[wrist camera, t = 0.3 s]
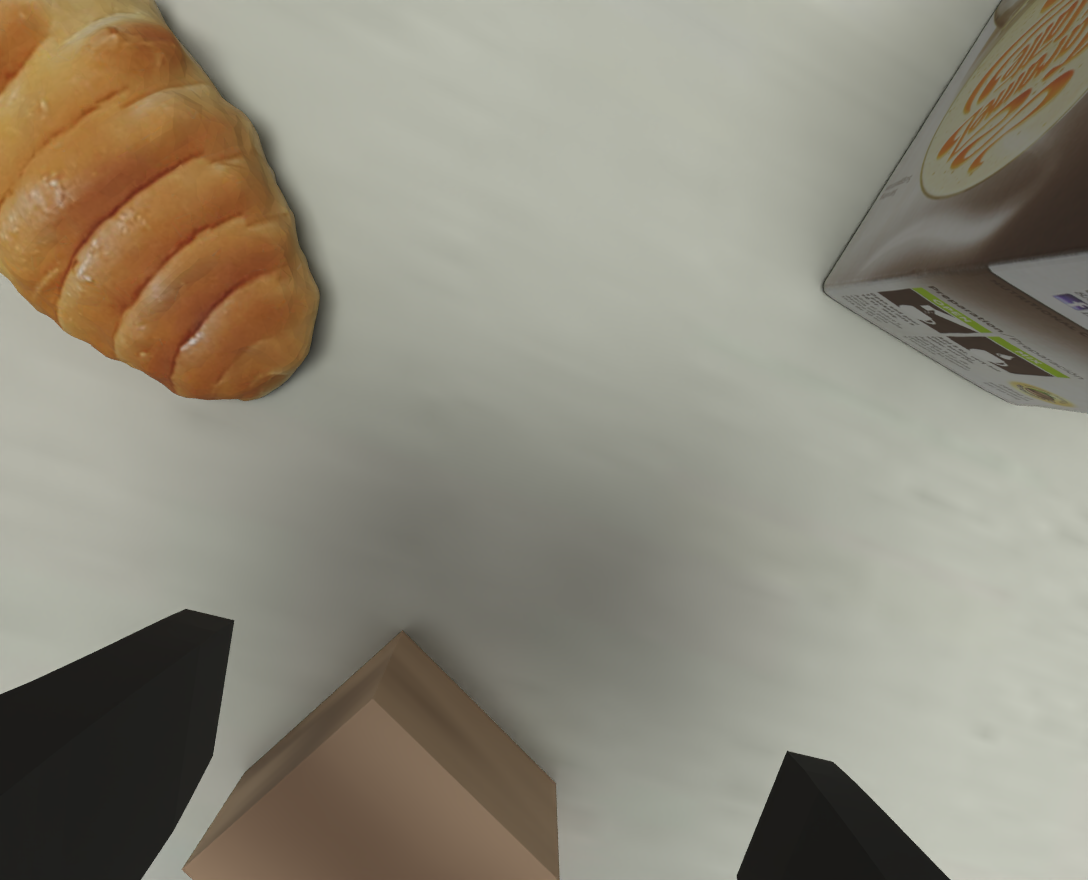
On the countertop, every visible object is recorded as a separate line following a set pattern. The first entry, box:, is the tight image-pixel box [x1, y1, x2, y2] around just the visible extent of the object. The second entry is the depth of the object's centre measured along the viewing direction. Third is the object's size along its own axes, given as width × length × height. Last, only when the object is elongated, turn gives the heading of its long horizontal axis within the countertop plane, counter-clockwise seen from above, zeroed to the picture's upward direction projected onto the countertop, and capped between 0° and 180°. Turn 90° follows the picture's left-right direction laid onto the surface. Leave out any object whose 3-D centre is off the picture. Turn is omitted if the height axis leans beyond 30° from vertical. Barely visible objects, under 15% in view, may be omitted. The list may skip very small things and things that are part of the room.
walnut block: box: [182, 630, 560, 880], centre depth 20 cm, size 6×6×4 cm
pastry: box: [0, 0, 320, 401], centre depth 18 cm, size 9×7×4 cm
